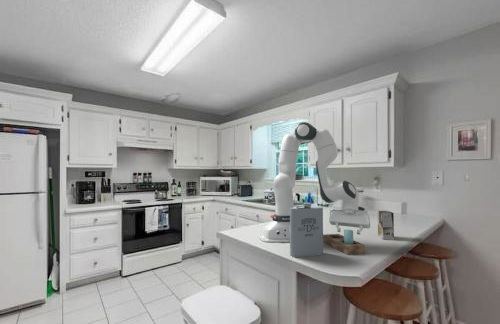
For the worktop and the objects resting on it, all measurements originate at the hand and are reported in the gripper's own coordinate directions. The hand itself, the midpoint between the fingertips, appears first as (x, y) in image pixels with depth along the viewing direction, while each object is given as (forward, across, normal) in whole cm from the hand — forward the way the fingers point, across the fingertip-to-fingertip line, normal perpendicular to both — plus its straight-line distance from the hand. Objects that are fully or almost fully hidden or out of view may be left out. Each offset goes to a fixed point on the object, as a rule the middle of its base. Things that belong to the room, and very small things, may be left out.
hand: (348, 232), depth 120 cm
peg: (+6, 0, +6) cm, 9 cm away
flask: (+18, -17, -5) cm, 26 cm away
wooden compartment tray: (+3, -3, +9) cm, 10 cm away
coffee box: (-20, +18, +33) cm, 42 cm away
